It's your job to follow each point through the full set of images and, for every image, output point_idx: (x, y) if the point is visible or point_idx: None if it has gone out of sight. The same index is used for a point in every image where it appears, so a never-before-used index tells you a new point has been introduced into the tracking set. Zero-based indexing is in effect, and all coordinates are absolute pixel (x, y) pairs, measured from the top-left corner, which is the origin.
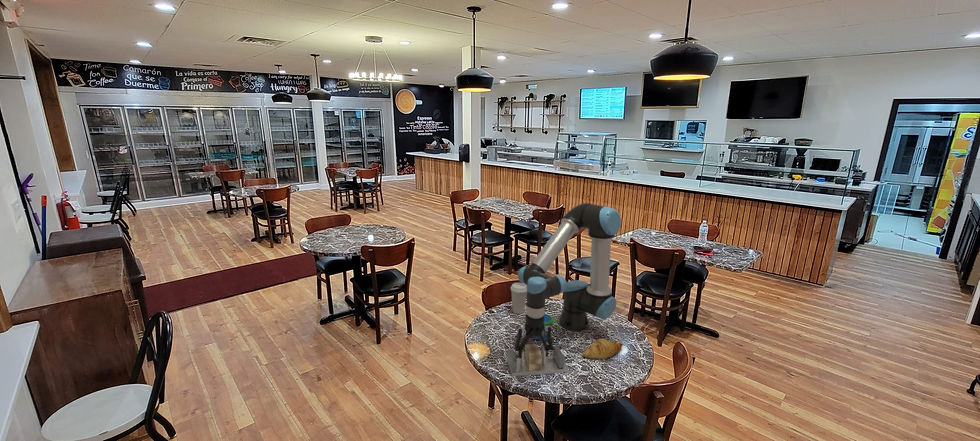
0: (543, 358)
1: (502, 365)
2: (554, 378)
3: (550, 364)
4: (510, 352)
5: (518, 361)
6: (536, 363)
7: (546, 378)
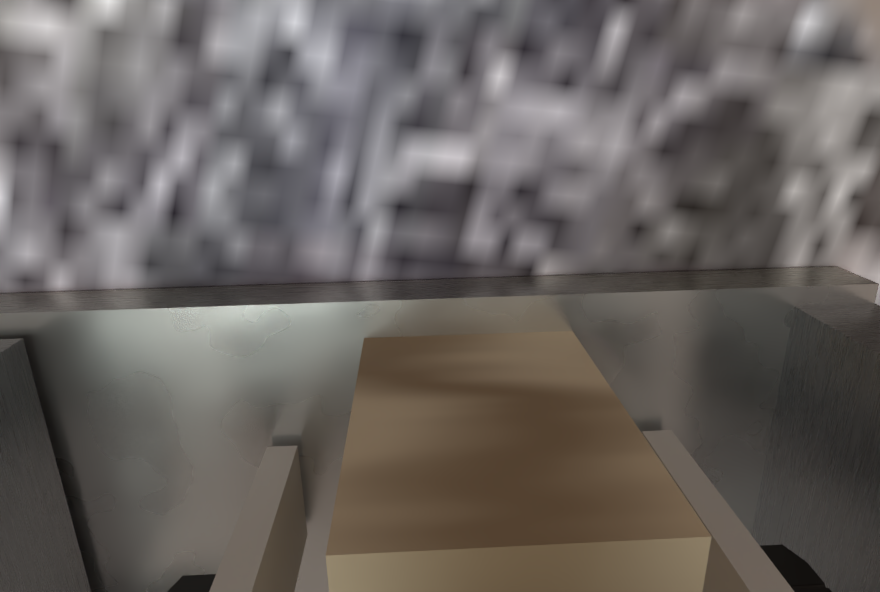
0: (276, 538)
1: None
2: (164, 146)
3: (173, 454)
4: None
5: None
6: (459, 396)
7: (304, 160)
